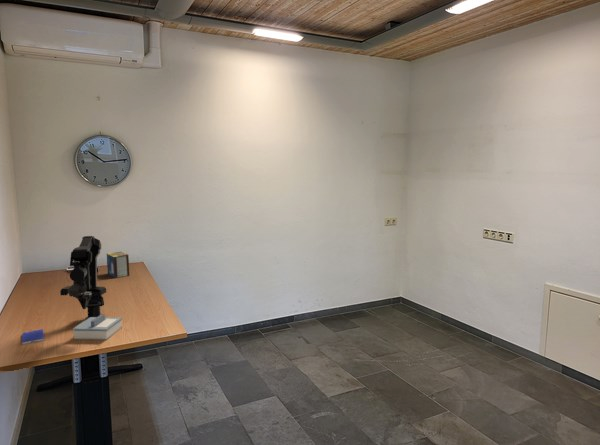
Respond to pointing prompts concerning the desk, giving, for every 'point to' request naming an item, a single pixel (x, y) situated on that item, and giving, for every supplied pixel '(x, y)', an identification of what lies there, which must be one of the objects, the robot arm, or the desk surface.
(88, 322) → the lid
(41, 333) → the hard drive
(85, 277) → the robot arm
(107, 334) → the box
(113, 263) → the protein box
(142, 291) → the desk surface
